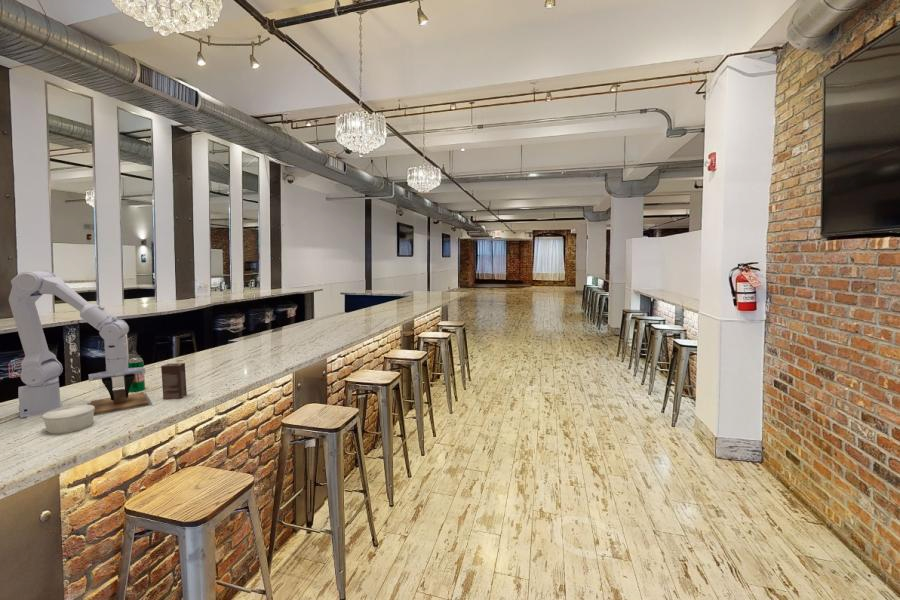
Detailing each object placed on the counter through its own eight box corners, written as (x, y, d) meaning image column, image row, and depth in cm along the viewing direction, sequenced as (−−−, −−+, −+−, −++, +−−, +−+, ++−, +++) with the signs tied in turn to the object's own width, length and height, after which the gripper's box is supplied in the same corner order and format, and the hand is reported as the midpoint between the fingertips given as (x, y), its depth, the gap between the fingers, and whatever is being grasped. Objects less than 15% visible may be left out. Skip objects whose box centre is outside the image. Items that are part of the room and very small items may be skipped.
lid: (93, 415, 131) (92, 401, 130) (91, 403, 141) (90, 390, 141) (148, 404, 140) (148, 392, 140) (143, 394, 151) (142, 382, 150)
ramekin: (82, 419, 129) (80, 402, 129) (104, 424, 125) (103, 407, 125) (34, 432, 119) (33, 414, 118) (57, 439, 115) (56, 420, 114)
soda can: (136, 393, 153) (134, 360, 152) (124, 392, 154) (122, 360, 153) (148, 389, 158) (146, 357, 157) (137, 388, 159) (135, 356, 158)
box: (187, 395, 151) (185, 362, 150) (181, 399, 147) (179, 365, 146) (168, 396, 150) (166, 362, 149) (162, 400, 146) (160, 366, 145)
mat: (89, 418, 130) (89, 416, 129) (87, 404, 141) (87, 403, 141) (153, 406, 140) (152, 405, 140) (146, 394, 152) (146, 393, 152)
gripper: (88, 363, 131) (91, 406, 133) (145, 356, 141) (148, 396, 142) (87, 359, 137) (90, 400, 138) (142, 353, 146) (145, 391, 148)
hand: (119, 398), depth 141 cm, fingers closed on lid, 3 cm apart
